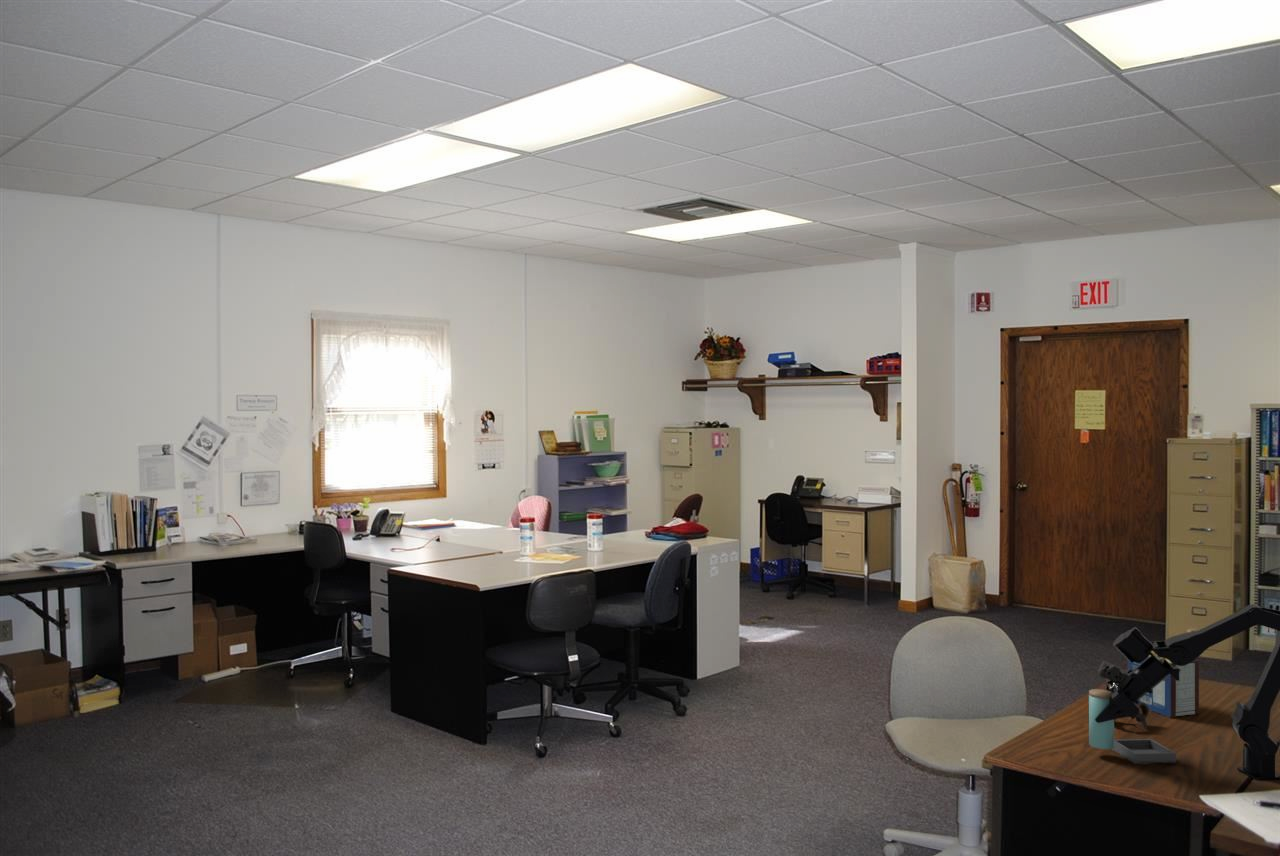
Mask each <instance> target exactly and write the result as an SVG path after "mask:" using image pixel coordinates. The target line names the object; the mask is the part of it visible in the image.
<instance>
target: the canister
mask: <svg viewBox="0 0 1280 856" xmlns="http://www.w3.org/2000/svg"><path fill="white" fill-rule="evenodd" d="M1109 694H1110V695H1111V696H1112V694H1113V692H1111V691H1108V690H1106V689H1103V688H1100V689H1099V688H1094V689H1093V688H1092V689H1089V690H1088V724H1089V725H1088V744H1089V746H1091V747H1092V748H1095V749H1100V750H1111V749H1112V748H1114V740H1115V721H1114V720H1109V721H1105V722H1101V723H1097V722H1096V721H1095V718H1096V717H1097V716H1098V715H1099V713H1100V712H1101V711H1102V710H1103V709H1104V708H1105V707H1106V705H1107V704H1108V703H1109Z"/></svg>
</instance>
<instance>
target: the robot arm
mask: <svg viewBox="0 0 1280 856" xmlns="http://www.w3.org/2000/svg"><path fill="white" fill-rule="evenodd" d="M1258 625H1259V626H1263V627H1266V628H1268V629H1271V630H1272V629H1273V630H1275V632H1276V633H1275V643H1274V646H1273V649H1272V652H1271V654H1270V656H1269V657H1268V660H1267V663H1266V664H1265V667H1264V669H1263V670H1262V673H1261V676H1260V678H1259V680H1258V682H1257V684H1256V687H1255V688H1254V691H1253V693H1252V695H1251V697H1250V699H1249V700H1248V701H1247V702H1245V703H1241V702H1240V701H1237V704H1236V707H1235V711H1234V713H1233V714H1231V715H1230V717H1231V719H1232V727H1233V729H1234V730H1235V732H1236V734H1237V735H1238V737H1239V738H1240V739H1241V740H1242V741H1243V742H1245V743H1243V750H1242V766H1237V767H1236V770H1237V771H1239V772H1241V773H1243V774H1245V775H1247V776H1248V777H1250V778H1252V779H1254V780H1277V779H1276V778H1280V774H1278V773H1276V754H1277V752H1278V750H1279V745H1278V744H1277V743H1276V742H1275V741H1274V739H1273V738H1272V736H1271V735H1270V734H1269V728H1270V724H1271V723H1270V722H1271V711H1272V707H1273V705H1274V704H1275V701H1276V699H1277V696H1278V695H1279V692H1280V610H1278V609H1274V608H1268V607H1262V606H1259V605H1257V604H1248V605H1247V606H1245V607H1244V608H1242V609H1240V610H1238V611H1236V612H1234V613H1232V614H1230V615H1227V616H1226V617H1223V618H1221V619H1219V620H1217V621H1216V622H1213V623H1211V624H1209V625H1207V626H1204V627H1203V628H1200V629H1199V630H1195V631H1190V632H1184V633H1179V634H1177V635H1173V636H1171V637H1168V638H1167V639H1166V640H1156V641H1150V640H1148V639H1147V638H1146V637H1145V636H1144V635H1143V634H1142V632H1141V631H1140V629H1138V628H1137V627H1136V626H1134V627H1132V628H1131V629H1128V630H1127V631H1125V632H1124V633H1121V634H1120V635H1119V636H1118V637H1117V638H1116V639H1115V640H1114V641H1113V643H1112V645H1113V647H1115V649H1116V650H1117V651H1118V652H1120V654H1122V656H1124V658H1126V660H1127V661H1128V660H1129V661H1130V662H1131V663H1132V662H1136V663H1141V662H1142V661H1144V660H1145V659H1146V658H1147V657H1148V656H1149V655H1151V656H1150V657H1149V658H1147V659H1146V660H1145V661H1144V662H1143V663H1141V664H1140V665H1139V666H1138V667H1137V668H1135V669H1134V670H1133V669H1128V668H1127V670H1125V669H1123V668H1121V667H1119V666H1117V665H1115V664H1113V663H1111V662H1109V661H1107V660H1102V662H1101V664H1100V666H1099V667H1098V669H1097V674H1098V676H1100V677H1101V678H1103V679H1105V682H1106V683H1105V690H1108V691H1111V692H1113V694H1112V696H1111V695H1110V694H1109V703H1108V704H1107V705H1106V707H1105V708H1104V709H1103V710H1102V711H1101V712H1100V713H1099V715H1098V716H1097V717H1096V718H1095V721H1096V722H1097V723H1101V722H1105V721H1109V720H1114V719H1116V720H1118V719H1123V718H1124V719H1125V718H1131V720H1134V719H1136V716H1138V715H1139V707H1138V705H1137V704H1138V703H1140V702H1139V699H1141V698H1142V697H1143V696H1144V695H1146V694H1147V693H1149V694H1151V693H1152V692H1153V690H1152V689H1153V688H1154V687H1155V686H1157V685H1158V684H1159V683H1161V682H1162V681H1163V680H1164V679H1166V678H1167V677H1168V676H1169V675H1172V676H1173V677H1174V678H1175V679H1176V680H1177V681H1179V680H1180V678H1179V672H1180V669H1179V667H1173V666H1172V665H1171V664H1170V663H1169V662H1168V661H1166V660H1165V659H1169V661H1170V662H1172V663H1173V664H1175V665H1179V666H1184V665H1187V664H1189V663H1191V662H1192V661H1193V660H1195V659H1198V658H1199V657H1200V656H1201V655H1202V654H1203V653H1205V651H1207V650H1208V649H1209V648H1211V647H1213V646H1214V645H1217V644H1219V643H1221V642H1224V641H1225V640H1228V639H1230V638H1232V637H1234V636H1237V635H1238V634H1240V633H1242V632H1244V631H1247V630H1248V629H1250V628H1253V627H1255V626H1258ZM1151 651H1153V652H1154V653H1155V654H1156V655H1158V656H1159V657H1161V659H1159V658H1157V657H1156V656H1155V655H1154V654H1153V653H1152V652H1151ZM1164 658H1165V659H1164Z"/></svg>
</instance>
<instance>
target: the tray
mask: <svg viewBox="0 0 1280 856" xmlns="http://www.w3.org/2000/svg"><path fill="white" fill-rule="evenodd" d="M1113 750H1114V751H1115V752H1114V751H1113ZM1111 751H1113V752H1114V753H1116V752H1117V753H1119V754H1120V755H1119V754H1118V755H1119V756H1121V755H1122V756H1123V757H1122V756H1121V757H1122V758H1124V757H1125V758H1127V759H1128V760H1130V761H1131V763H1132V762H1133V763H1135V764H1141V765H1150V764H1149V763H1176V764H1177V753H1176V752H1175V751H1174V750H1171V749H1170V748H1167V747H1166V746H1164V745H1163V744H1161V743H1159V742H1158V741H1156V740H1154V739H1151V738H1139V739H1138V738H1137V739H1135V738H1134V739H1114V748H1112V750H1111ZM1117 753H1116V754H1117ZM1125 758H1124V759H1125ZM1127 759H1126V760H1127ZM1128 760H1127V761H1128ZM1130 761H1129V762H1130ZM1133 763H1132V764H1133ZM1145 763H1146V764H1145ZM1135 764H1134V765H1135Z"/></svg>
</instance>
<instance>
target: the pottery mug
mask: <svg viewBox="0 0 1280 856" xmlns="http://www.w3.org/2000/svg"><path fill="white" fill-rule="evenodd" d="M1137 705H1138V707H1139V715H1138V716H1136V717H1135V721H1136V722H1137V724H1135V727H1136V729H1137V731H1139V732H1141V733H1143V732H1145V731H1146V730H1148V725H1147V721H1146V719H1147V717H1148V716H1149V712H1150V711H1149V709H1148V707H1147V705H1146V704H1145V703H1143V702H1140V703H1138V704H1137ZM1116 720H1117V719H1114V722H1115V721H1116ZM1139 732H1138V733H1139Z"/></svg>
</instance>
